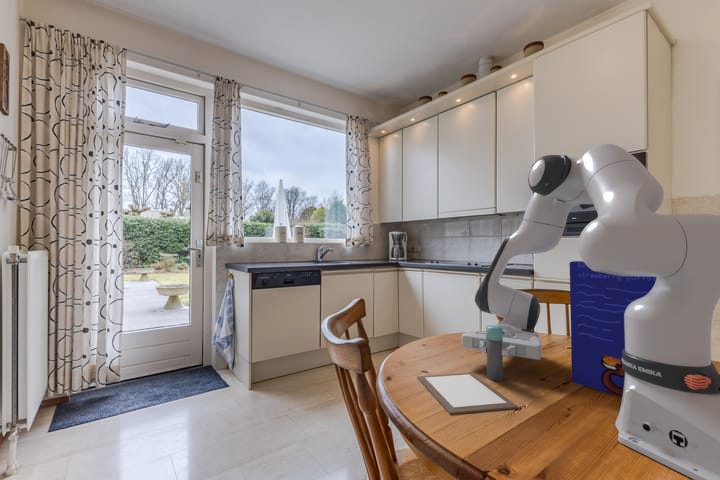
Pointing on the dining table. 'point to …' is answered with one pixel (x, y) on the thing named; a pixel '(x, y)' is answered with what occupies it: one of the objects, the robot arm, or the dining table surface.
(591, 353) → the cereal box
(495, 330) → the marker
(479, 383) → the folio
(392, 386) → the dining table surface
